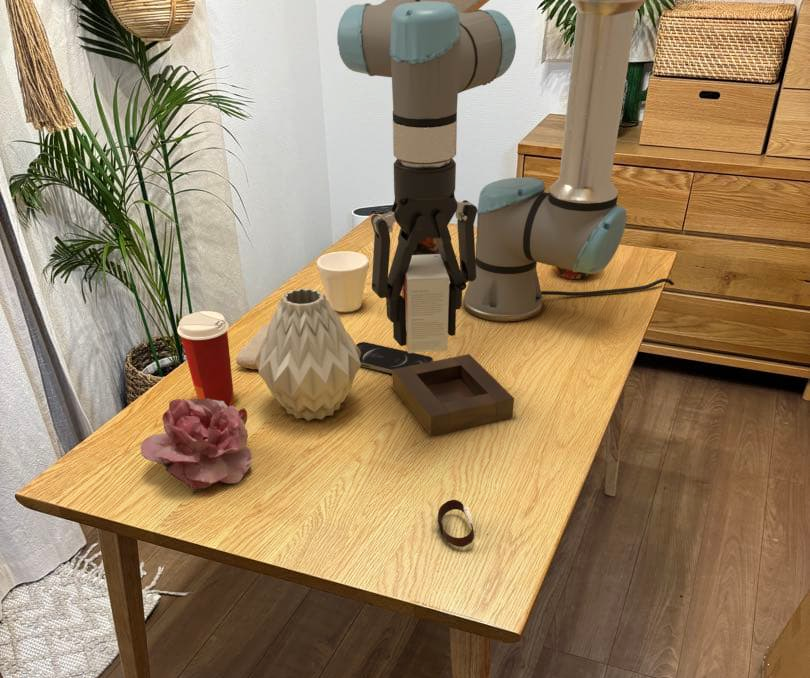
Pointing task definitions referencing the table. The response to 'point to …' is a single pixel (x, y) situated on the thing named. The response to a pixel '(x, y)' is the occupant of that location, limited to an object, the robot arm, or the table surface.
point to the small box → (426, 304)
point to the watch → (459, 506)
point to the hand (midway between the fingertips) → (424, 336)
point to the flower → (201, 442)
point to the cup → (343, 279)
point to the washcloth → (252, 349)
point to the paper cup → (208, 355)
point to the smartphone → (388, 357)
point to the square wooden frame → (452, 394)
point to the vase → (308, 356)
